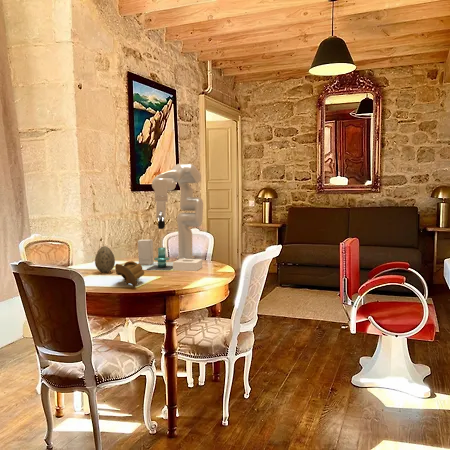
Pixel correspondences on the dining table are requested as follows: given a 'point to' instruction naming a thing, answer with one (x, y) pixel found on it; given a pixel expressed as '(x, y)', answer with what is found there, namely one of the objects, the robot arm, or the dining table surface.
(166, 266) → the mat
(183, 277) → the dining table surface
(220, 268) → the dining table surface
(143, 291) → the dining table surface
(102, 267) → the decorative egg
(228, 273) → the dining table surface
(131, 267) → the brown looped sculpture
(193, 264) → the housing
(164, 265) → the end cover
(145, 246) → the skincare box
